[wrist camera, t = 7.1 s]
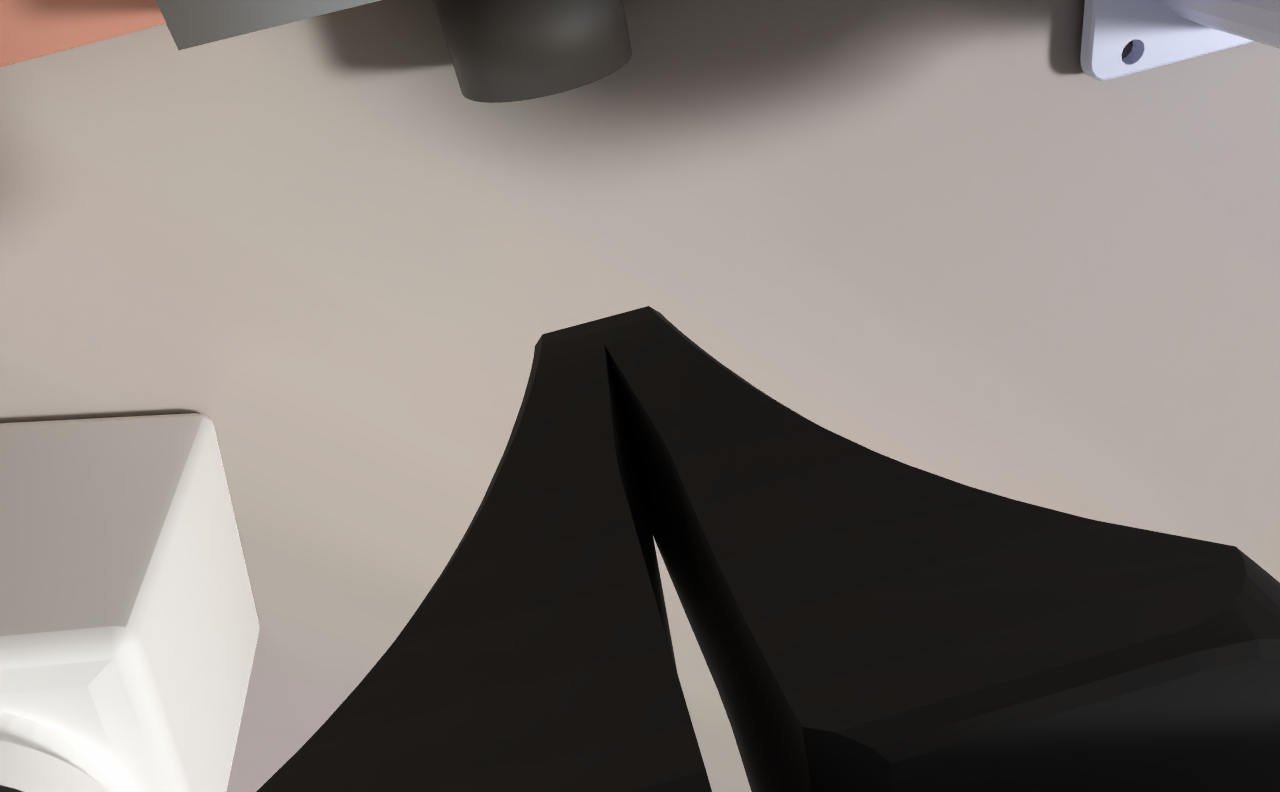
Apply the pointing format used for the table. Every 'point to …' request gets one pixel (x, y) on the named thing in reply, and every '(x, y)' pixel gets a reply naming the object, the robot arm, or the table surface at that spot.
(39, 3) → the panel
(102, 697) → the medicine bottle
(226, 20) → the trailer
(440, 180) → the table surface
